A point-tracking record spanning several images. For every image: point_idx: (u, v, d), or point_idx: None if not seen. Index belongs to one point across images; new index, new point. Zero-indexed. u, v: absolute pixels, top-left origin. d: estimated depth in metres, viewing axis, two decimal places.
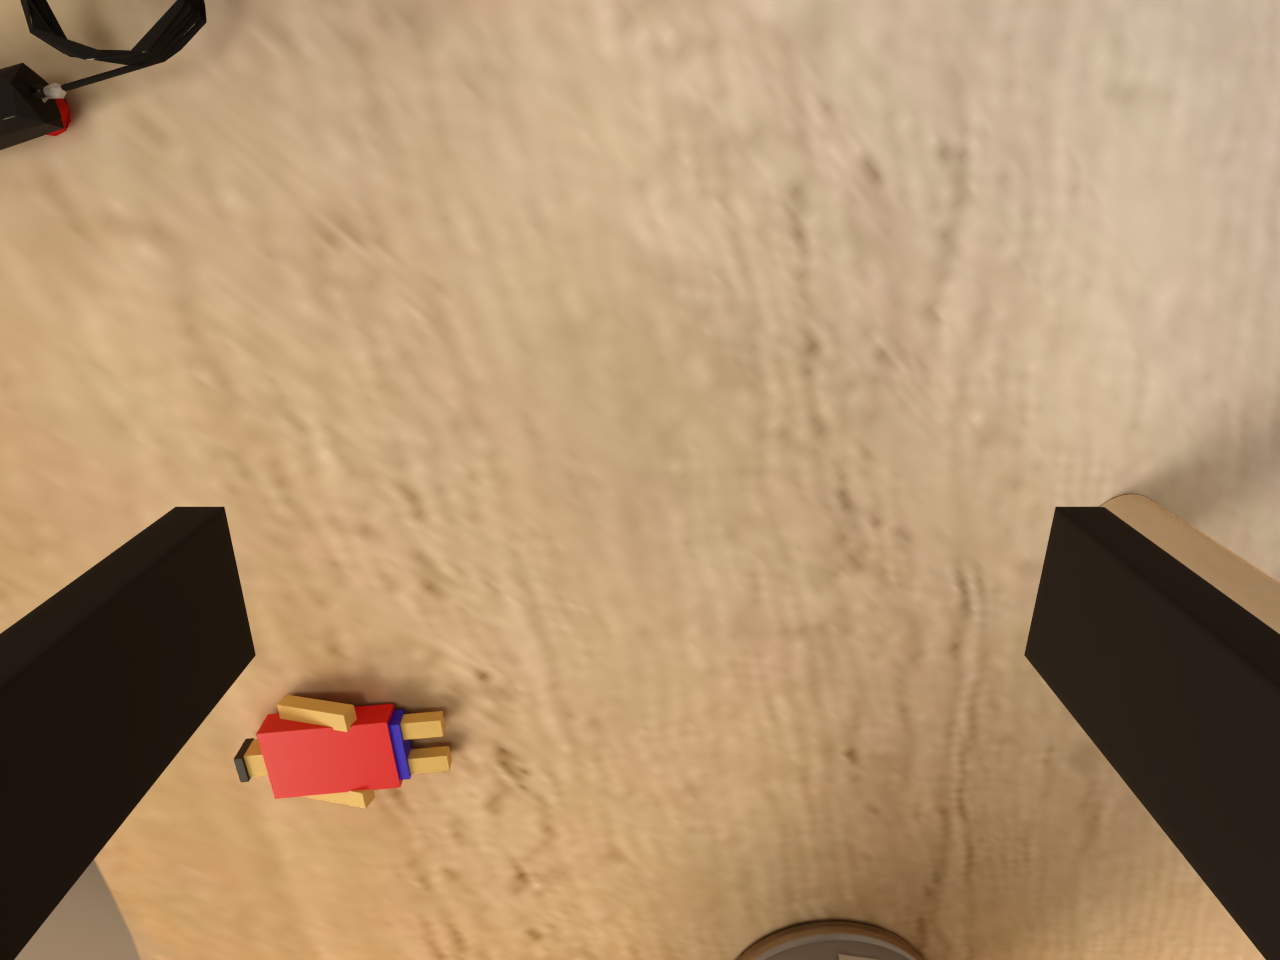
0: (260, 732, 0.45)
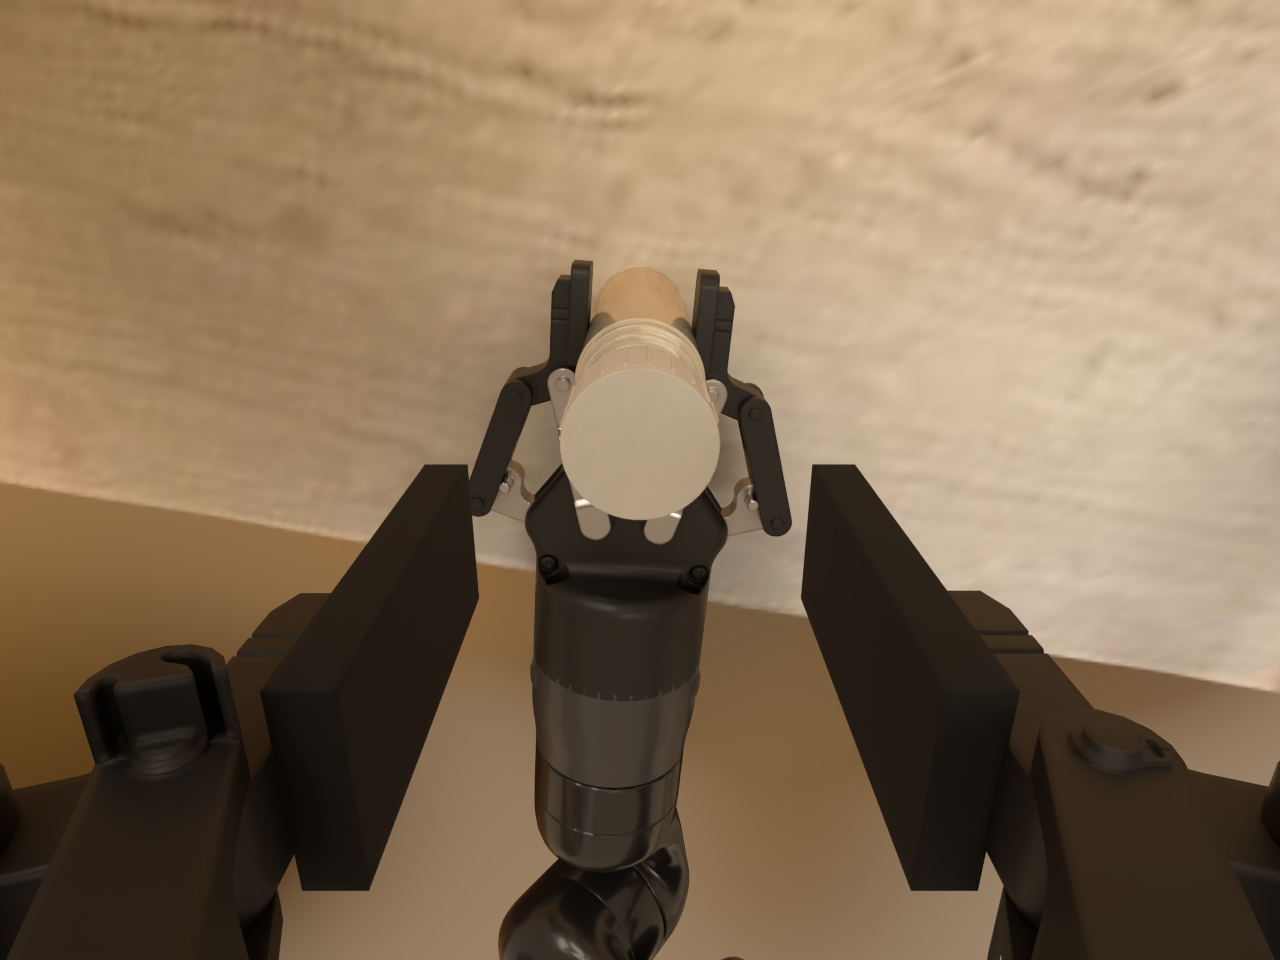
0: None
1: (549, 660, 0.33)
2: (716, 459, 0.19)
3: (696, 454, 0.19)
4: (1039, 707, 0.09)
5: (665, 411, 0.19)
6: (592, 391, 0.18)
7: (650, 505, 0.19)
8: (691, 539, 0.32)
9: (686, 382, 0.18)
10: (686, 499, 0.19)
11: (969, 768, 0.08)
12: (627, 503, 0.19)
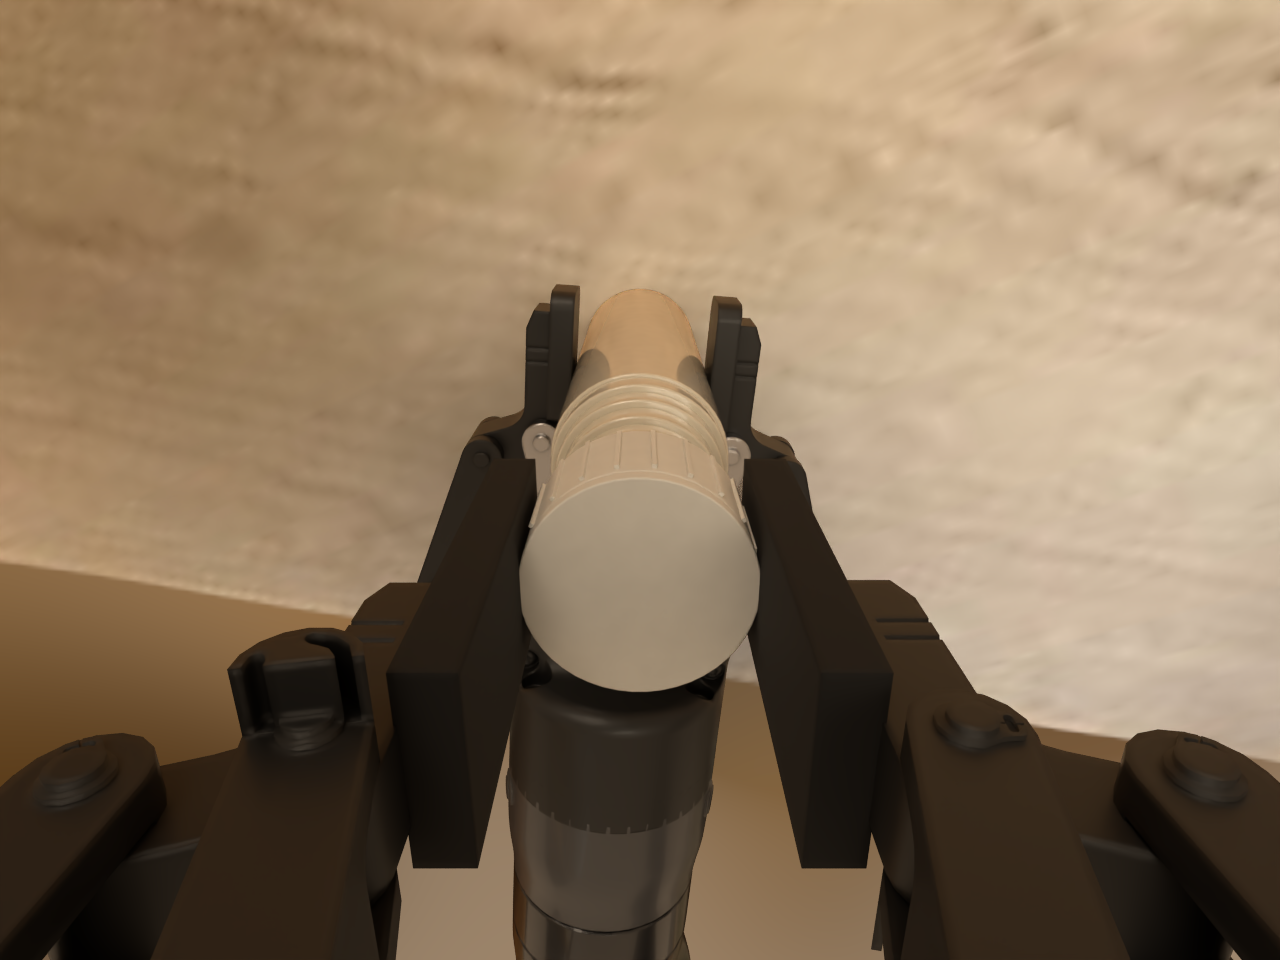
0: None
1: (527, 779, 0.27)
2: (755, 608, 0.13)
3: (725, 601, 0.12)
4: (922, 690, 0.09)
5: (678, 539, 0.12)
6: (566, 511, 0.12)
7: (655, 671, 0.13)
8: None
9: (710, 497, 0.12)
10: (709, 664, 0.13)
11: (850, 748, 0.09)
12: (620, 669, 0.13)
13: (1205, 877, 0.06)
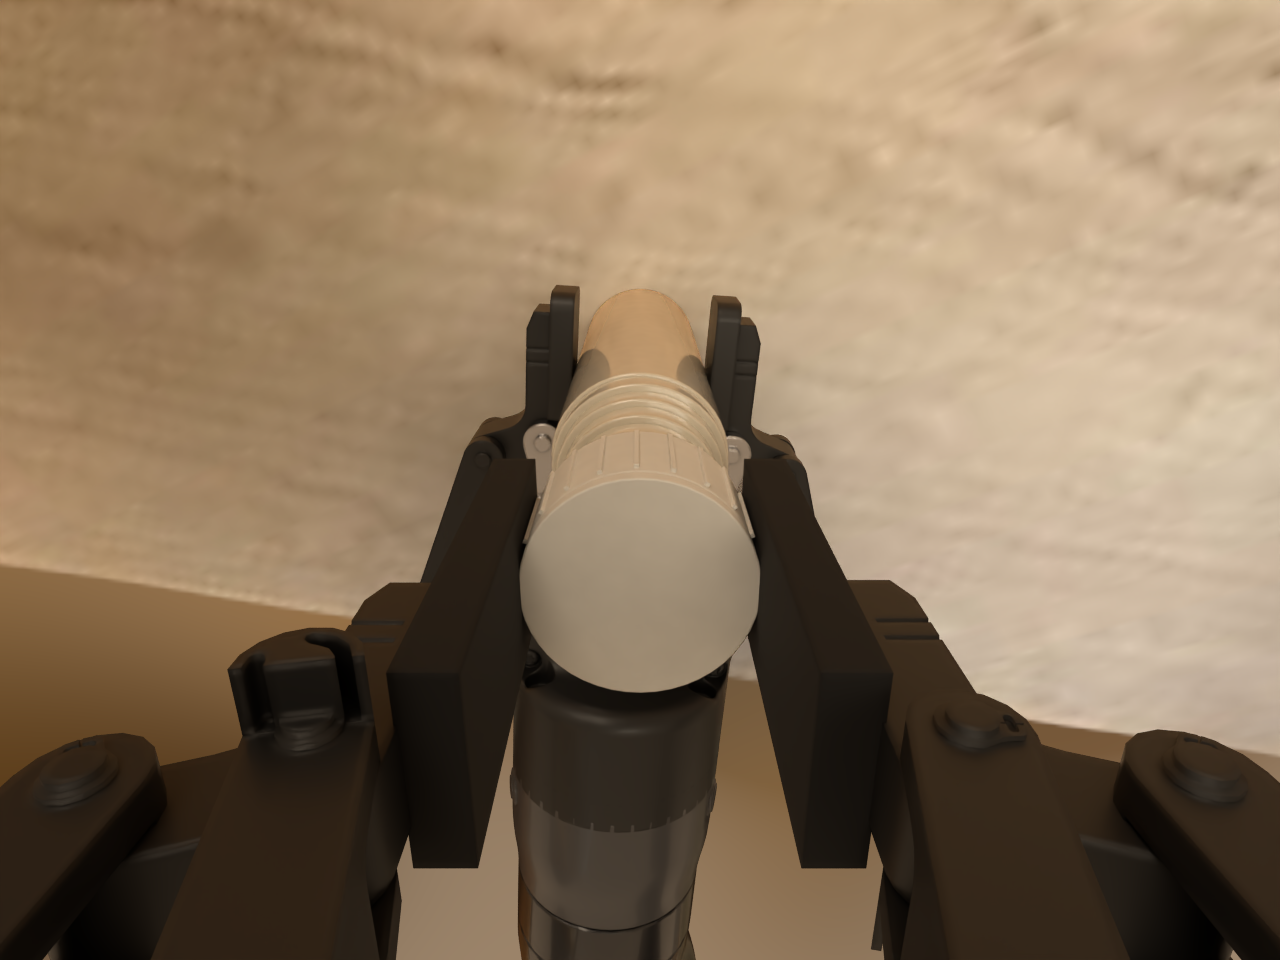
0: None
1: (531, 778, 0.27)
2: (651, 481, 0.12)
3: (645, 512, 0.12)
4: (922, 690, 0.09)
5: (580, 561, 0.12)
6: (560, 658, 0.13)
7: (735, 571, 0.12)
8: None
9: (532, 534, 0.12)
10: (722, 520, 0.12)
11: (850, 748, 0.09)
12: (733, 603, 0.12)
13: (1204, 877, 0.06)
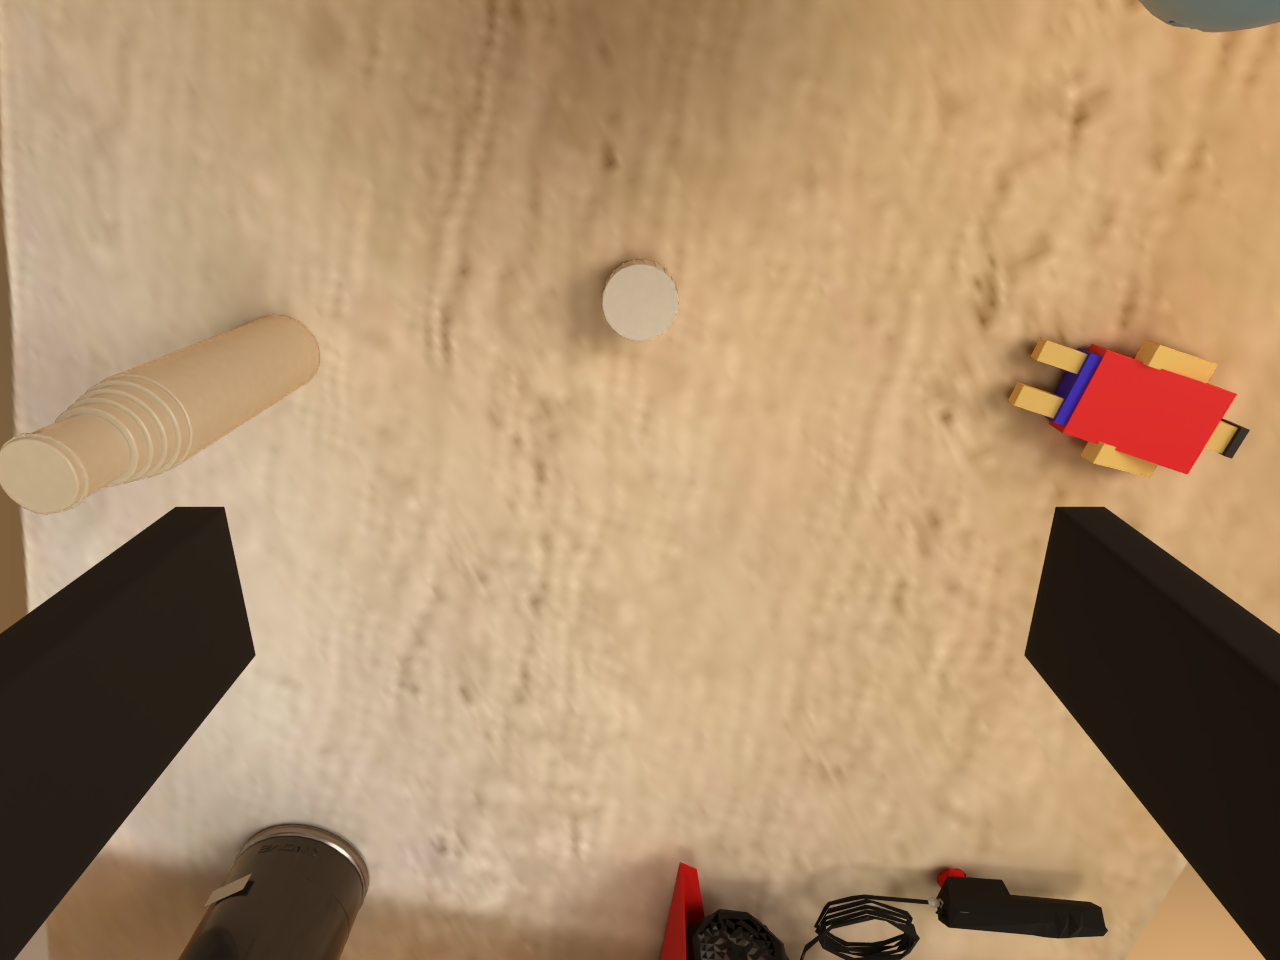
0: (1183, 472, 0.43)
1: None
2: (676, 298, 0.40)
3: (666, 298, 0.40)
4: None
5: (646, 282, 0.39)
6: (611, 283, 0.39)
7: (653, 330, 0.40)
8: None
9: (651, 266, 0.39)
10: (669, 322, 0.40)
11: None
12: (642, 332, 0.40)
13: None
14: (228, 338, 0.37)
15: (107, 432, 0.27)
